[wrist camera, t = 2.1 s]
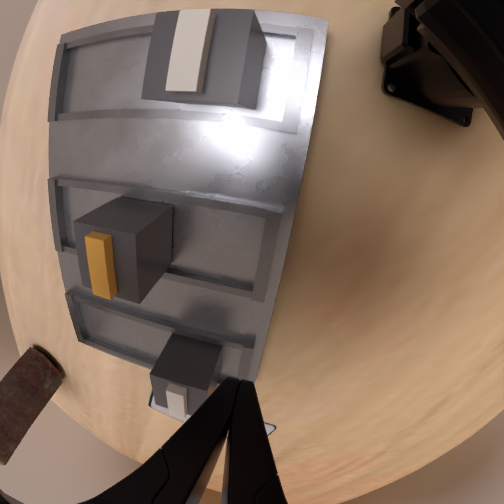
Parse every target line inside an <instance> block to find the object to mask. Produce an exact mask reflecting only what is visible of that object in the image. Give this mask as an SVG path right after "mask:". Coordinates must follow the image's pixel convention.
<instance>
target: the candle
mask: <svg viewBox="0 0 504 504" xmlns="http://www.w3.org/2000/svg"><path fill="white" fill-rule="evenodd" d="M61 383H62V375H61V372H60V371H59V370H58V369H57V368H56V366H54V365H53V363H52V362H50V361H49V360H48V358H47V357H46V356H45V355H43V354H42V353H40V352H39V351H37V350H36V349H34V348H31V347H30V348H29V349H28V350H27V351H26V352H25V353H24V354H23V355H22V357H21V358H20V359H19V360H18V361H17V362H16V363H15V365H14V366H13V367H12V368H11V369H10V370H9V372H8V373H7V374H6V375H5V377H4V378H3V379H2V380H1V382H0V464H1V465H6V464H7V462H8V461H9V459H10V457H11V456H12V454H13V453H14V451H15V449H16V448H17V446H18V445H19V444H20V442H21V440H22V438H23V437H24V435H25V434H26V432H27V431H28V429H29V428H30V426H31V425H32V424H33V422H34V420H35V419H36V418H37V416H38V415H39V414H40V412H41V411H42V410H43V408H44V407H45V406H46V404H47V403H48V401H49V400H50V399H51V397H52V396H53V395H54V393H55V392H56V390H57V389H58V388H59V386H60V385H61Z"/></svg>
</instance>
